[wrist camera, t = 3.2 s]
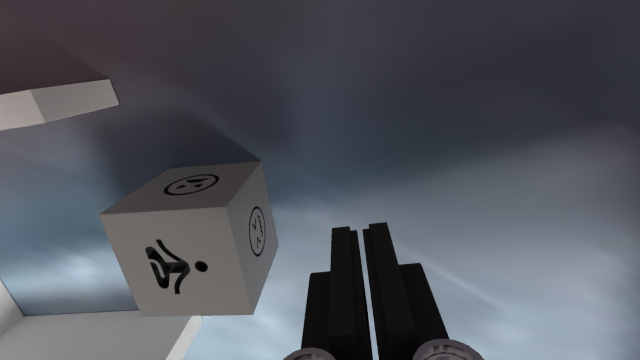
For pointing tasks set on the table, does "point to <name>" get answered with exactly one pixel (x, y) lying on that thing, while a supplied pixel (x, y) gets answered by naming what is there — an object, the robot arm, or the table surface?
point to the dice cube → (195, 240)
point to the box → (82, 328)
